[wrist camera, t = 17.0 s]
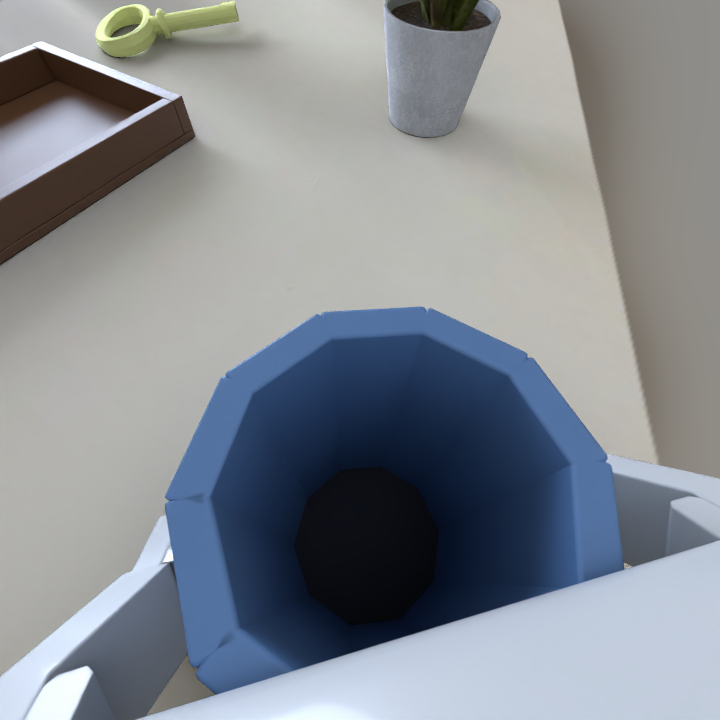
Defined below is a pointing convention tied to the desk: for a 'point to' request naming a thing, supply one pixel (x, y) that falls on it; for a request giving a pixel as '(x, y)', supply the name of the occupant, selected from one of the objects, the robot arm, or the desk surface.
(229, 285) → the desk surface
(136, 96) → the tray
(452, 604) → the blue faceted tube
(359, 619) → the mat
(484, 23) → the house plant
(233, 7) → the key
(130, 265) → the desk surface
